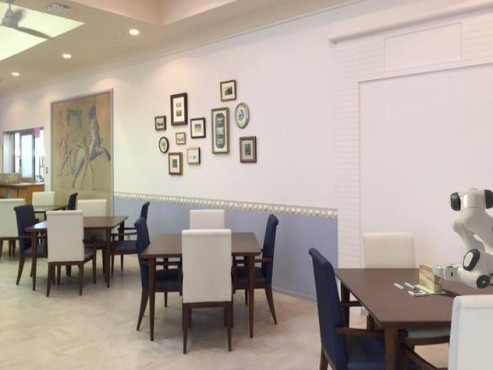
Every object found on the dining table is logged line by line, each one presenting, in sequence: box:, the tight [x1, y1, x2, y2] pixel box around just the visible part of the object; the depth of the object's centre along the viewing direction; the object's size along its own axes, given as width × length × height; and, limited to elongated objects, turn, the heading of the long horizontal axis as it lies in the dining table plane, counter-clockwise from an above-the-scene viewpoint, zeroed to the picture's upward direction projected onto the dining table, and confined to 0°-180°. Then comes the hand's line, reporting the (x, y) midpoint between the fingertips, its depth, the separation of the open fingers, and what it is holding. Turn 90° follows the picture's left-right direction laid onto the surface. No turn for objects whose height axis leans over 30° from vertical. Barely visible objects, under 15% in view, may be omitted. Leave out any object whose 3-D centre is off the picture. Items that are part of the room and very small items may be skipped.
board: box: [418, 264, 443, 293], centre depth 232 cm, size 4×14×12 cm, turn 9°
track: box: [394, 282, 416, 291], centre depth 238 cm, size 8×9×1 cm
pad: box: [414, 284, 447, 295], centre depth 232 cm, size 9×16×1 cm, turn 9°
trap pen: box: [407, 289, 428, 297], centre depth 225 cm, size 8×6×1 cm
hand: (443, 265), depth 220 cm, fingers open, 8 cm apart
